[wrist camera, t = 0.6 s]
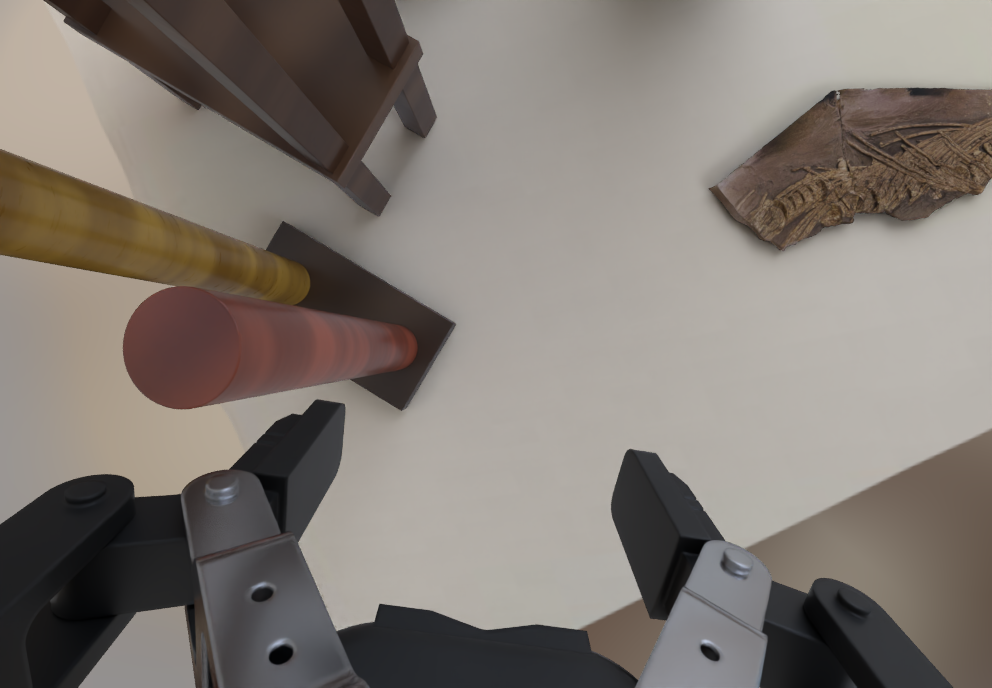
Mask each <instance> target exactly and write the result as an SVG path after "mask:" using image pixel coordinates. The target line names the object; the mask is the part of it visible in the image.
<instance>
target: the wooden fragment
mask: <svg viewBox="0 0 992 688" xmlns="http://www.w3.org/2000/svg"><path fill="white" fill-rule="evenodd" d="M838 92H840V94H839V95H840V99H839V100H837V96H836V95H838V94H836V91H831V92H830V93H829V94H828V95H826V96H825V97H824V98H823V100H821V101H820V102H818V103H817V104H816V105H815V106H813V107H812V108H811V109H810V110H809V111H807V112H806V113H805V114H804V115H802V116H801V117H800V118H799V119H797V120H796V121H795V122H794V123H793V124H792V125H790V126H789V127H788V128H787V129H785V130H784V131H783V132H782V133H780V134H779V135H778V136H777V137H775V138H774V139H773V140H772V141H770V142H769V143H768V144H767V145H765V146H764V147H763V148H762V149H761V150H759V151H758V152H757V153H755V154H754V155H753V157H751V158H749V159H748V160H747V161H746V162H745V163H743V164H742V165H741V166H740V167H738V168H737V169H736V170H734V171H733V172H732V173H731V174H730V175H729V176H728V177H727V178H725V179H724V180H723V181H721V182H720V183H719V184H718V185H716V186H714V187H712V188H709V190H711V191H712V193H713V194H714V195H715V196H716V197H717V198H718V199H719V200H720V201H721V203H722V204H723V205H724V206H725V207H726V208H727V210H728V211H729V213H730V214H731V215H732V217H733V218H734V219H735V220H737V221H738V222H740V223H742V224H746V225H748V226H749V227H750V228H751V229H752V230H753V231H754V232H755V233H756V235H757V236H758V238H759V239H761V240H763V241H769V242H771V243H772V244H773V245H775V246H776V247H777V248H778V249H779V250H782V251H784V250H785V248H786V247H787V246H790V245H795V244H796V243H797V242H799V241H801V240H802V239H804V238H809V237H812V236H814V235H816V234H817V233H819V232H820V231H821V228H824V227H829V226H836V225H839V224H851V223H853V221H854V219H853V217H854V215H855V213H867V214H868V213H882V212H884V211H885V212H886V213H887V214H888V215H891V216H892V217H896V218H898V219H900V220H915V219H920V218H926V217H928V216H929V215H930V214H931V213H932V212H934V211H935V210H936V209H939V208H941V207H942V206H943V205H945V204H946V203H949V202H951V201H952V200H953V199H954V198H959V197H961V196H962V195H964V194H967V193H969V194H972V195H978V194H981V193H982V192H983V190H984V189H985V186H986V185H987V183H988V182H989V180H990V179H991V178H992V90H969V89H967V90H966V89H946V88H889V89H887V88H885V89H883V88H877V89H873V90H872V89H870V90H867V89H866V90H864V88H862V89H843V90H839V91H838Z"/></svg>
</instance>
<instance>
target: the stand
mask: <svg viewBox="0 0 992 688" xmlns="http://www.w3.org/2000/svg"><path fill="white" fill-rule="evenodd" d="M44 1H45V2H47V3H48V4H49V5H51V6H52V7H53V8H55V9H56V10H58V11H59V12H60V13H62V14H63V15H64V16H66V17H65V19H64V22H65V23H66V24H68V25H69V26H71V27H72V28H73V29H75V30H76V31H78V32H79V33H80V34H82V35H84V36H85V37H87V38H89V39H90V40H92V41H94V42H96V43H97V44H99V45H101V46H102V47H104V48H106V49H107V50H109V51H111V52H113V53H114V54H116V55H118V56H119V57H121V58H123V59H124V60H126V61H128V62H129V63H130V64H132V65H133V66H135V67H136V68H137V69H139V70H140V71H141V72H143V73H144V74H146V75H147V76H148V77H150V78H151V79H152V80H154V81H155V82H157V83H158V84H159V85H161V86H162V87H163V88H165V89H166V90H168V91H169V92H170V93H172V94H173V95H174V96H176V97H177V98H179V99H180V100H182V101H184V102H185V103H187V104H189V105H190V106H192V107H194V108H195V109H197V110H198V109H199V108H200V106H201V105H203V106H204V107H206V108H208V109H209V110H211V111H213V112H215V113H216V114H218V115H220V116H221V117H223V118H225V119H226V120H228V121H230V122H232V123H233V124H235V125H237V126H238V127H240V128H242V129H243V130H245V131H247V132H249V133H250V134H252V135H254V136H255V137H257V138H259V139H260V140H262V141H264V142H265V143H267V144H269V145H271V146H272V147H274V148H276V149H277V150H279V151H281V152H282V153H284V154H286V155H288V156H289V157H291V158H293V159H294V160H296V161H298V162H299V163H301V164H303V165H305V166H306V167H308V168H310V169H311V170H313V171H315V172H316V173H318V174H320V175H322V176H323V177H325V178H327V179H328V180H330V181H332V182H333V183H335V184H336V185H337V186H338V187H339V188H340V189H341V190H343V191H344V192H345V193H346V194H347V195H348V196H349V197H351V198H352V199H353V200H354V201H355V202H356V203H357V204H359V205H360V206H362V207H363V208H365V209H367V210H368V211H370V212H372V213H374V214H375V215H377V216H380V214H381V213H382V211H383V209H384V207H385V206H386V204H387V202H388V201H389V199H390V197H391V195H390V194H389V193H388V191H387V190H386V189H385V188H384V187H383V186H382V184H381V183H380V182H379V181H378V180H377V179H376V177H375V176H374V175H373V174H372V173H371V172H370V170H369V169H368V168H367V167H366V166H365V165H364V163H363V162H362V161H361V160H362V158H363V156H364V155H365V153H366V151H367V150H368V148H369V146H370V144H371V143H372V141H373V139H374V137H375V136H376V134H377V132H378V131H379V129H380V127H381V125H382V124H383V122H384V120H385V119H386V117H387V115H388V113H389V112H390V110H391V108H392V107H393V105H394V107H395V109H396V111H397V113H398V115H399V117H400V118H401V120H402V122H403V124H404V126H405V127H406V128H408V129H410V130H412V131H413V132H415V133H417V134H419V135H420V136H422V137H424V138H425V137H426V135H427V134H428V132H429V130H430V128H431V127H432V125H433V123H434V122H435V120H436V118H437V116H436V113H435V110H434V108H433V105H432V102H431V99H430V97H429V94H428V91H427V88H426V86H425V83H424V80H423V77H422V75H421V72H420V69H419V66H418V62H419V60H420V58H421V57H422V55H423V52H422V49H421V46H420V43H419V41H417V40H415V39H414V38H412V37H410V36H408V35H407V34H406V31H405V28H404V25H403V23H402V20H401V17H400V14H399V12H398V9H397V6H396V4H395V1H394V0H44Z"/></svg>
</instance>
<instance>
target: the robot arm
mask: <svg viewBox="0 0 992 688" xmlns="http://www.w3.org/2000/svg"><path fill="white" fill-rule="evenodd" d="M344 422H345V405H344V404H343V403H337V402H331V401H324V400H318V399H317V400H315V401H314V402H313V403H312V404H311V406H310V407H309V408H308V409H307V410H306V411H305V412H304V413H303V415H297V414H291V415H289V416H287V417H284V418H282V419H280V420H278V421H276V422H275V423H274V424H273V425H272V426H271V427H270V428H269V429H268V430H267V431H266V433H265V434H263V435H262V436H261V437H260V438H259V439H258V440H257V443H254V444H253V445H252V446H251V448H250V449H249V450H248V451H247V452H246V453H245V454H244V455H243V456H242V457H241V458H240V459H239V460H238V461H237V462H236V463H235V464H234V465H233V466H232V467H231V468H230V469H229V470H220V471H215V472H211V473H207V474H205V475H202V476H200V477H198V478H196V479H194V480H193V481H191V482H190V483H189V484H188V485H186V487H185V488H184V489H183V491H182V493H181V494H178V495H166V496H151V497H135V496H134V485H133V483H132V482H131V481H130V480H129V479H127V478H125V477H122V476H118V475H108V474H105V475H104V474H103V475H91V476H86V477H81V478H77V479H73V480H71V481H68V482H65V483H62V484H60V485H58V486H56V487H54V488H52V489H50V490H48V491H47V492H45V493H44V494H43V495H41V496H40V497H38V498H37V499H36V500H34V501H33V502H32V503H30V504H28V505H27V506H26V507H24V508H23V509H21V510H20V511H19V512H17V513H16V514H14V515H13V516H12V517H10V518H9V519H7V520H6V521H5V522H3V523H2V524H0V688H78V687H79V685H80V684H81V683H82V682H83V680H84V679H85V678H86V676H87V675H88V674H89V673H90V671H91V670H92V669H93V667H94V666H95V665H96V664H97V662H98V661H99V660H100V659H101V657H102V656H103V655H104V653H105V652H106V651H107V650H108V648H109V647H110V646H111V645H112V643H113V642H114V641H115V639H116V638H117V637H118V636H119V634H120V633H121V632H122V630H123V629H124V628H125V627H126V625H127V624H128V623H129V621H130V620H131V619H132V618H133V616H134V615H135V614H136V612H141V611H148V610H155V609H162V608H170V607H177V606H184V605H185V614H186V621H187V628H188V634H189V642H190V649H191V656H192V663H193V670H194V678H195V685H196V688H759V687H760V688H953V687H952V685H951V684H950V683H949V682H948V681H947V680H946V679H945V678H944V677H943V676H942V674H941V673H940V672H939V671H938V670H937V669H936V668H935V666H934V665H933V664H932V663H931V662H930V661H929V660H928V659H927V658H926V656H925V655H924V654H923V653H922V652H921V651H920V650H919V649H918V647H917V646H916V645H915V644H914V643H913V642H912V641H911V640H910V638H909V637H908V636H907V635H906V634H905V633H904V632H903V631H902V630H901V628H900V627H899V626H898V625H897V624H896V623H895V622H894V621H893V619H892V618H891V617H890V616H889V615H888V614H887V613H886V612H885V611H884V610H883V609H882V608H881V607H880V606H879V605H878V604H877V603H876V602H875V601H873V600H872V599H871V598H869V597H868V596H867V595H865V594H864V593H862V592H861V591H859V590H857V589H855V588H854V587H852V586H849V585H847V584H845V583H843V582H840V581H837V580H833V579H829V578H819V579H817V580H815V581H814V583H813V584H812V586H811V588H810V590H809V593H808V594H807V593H804V592H801V591H798V590H796V589H793V588H790V587H787V586H785V585H782V584H779V583H777V582H774V581H772V577H771V574H770V572H769V570H768V569H767V567H766V566H765V565H764V564H763V563H762V562H761V561H760V560H759V559H758V558H757V557H755V556H754V555H753V554H752V553H750V552H749V551H747V550H745V549H743V548H742V547H740V546H737V545H735V544H732V543H730V542H726V541H725V540H724V538H723V537H722V535H721V534H720V532H719V531H718V529H717V528H716V526H715V525H714V524H713V522H712V521H711V519H710V518H709V516H708V515H707V513H706V512H705V511H703V507H702V506H701V504H700V503H699V502H698V501H697V500H696V497H695V496H694V494H693V493H692V491H691V490H690V488H689V487H688V485H686V484H685V483H684V482H683V481H682V480H680V479H679V478H678V477H677V476H676V475H674V474H673V473H669V472H668V470H667V469H666V467H665V466H664V464H663V463H662V461H661V460H660V458H659V456H658V455H657V454H656V453H652V452H645V451H639V450H633V449H629V450H628V451H627V452H626V453H625V456H624V459H623V462H622V465H621V469H620V472H619V475H618V479H617V482H616V485H615V489H614V492H613V496H612V502H611V512H612V518H613V521H614V523H615V526H616V529H617V531H618V534H619V537H620V539H621V542H622V545H623V547H624V550H625V553H626V555H627V558H628V561H629V563H630V566H631V569H632V571H633V574H634V576H635V579H636V582H637V584H638V587H639V590H640V592H641V595H642V598H643V600H644V603H645V606H646V608H647V611H648V613H649V616H650V618H651V619H659V620H666V623H665V625H664V627H663V629H662V631H661V634H660V636H659V638H658V640H657V642H656V644H655V646H654V649H653V651H652V653H651V655H650V657H649V659H648V661H647V663H646V665H645V668H644V670H643V672H642V674H641V676H640V678H639V680H637V679H636V678H635V677H634V676H633V675H632V674H630V673H629V672H628V671H626V670H625V669H624V668H622V667H621V666H620V665H618V664H616V663H615V662H613V661H612V660H610V659H608V658H606V657H604V656H602V655H600V654H598V653H596V652H593V651H591V648H590V643H589V638H588V634H587V631H582V630H575V629H567V628H559V627H552V626H544V625H529V626H520V627H511V628H503V629H494V630H482V629H479V628H476V627H473V626H471V625H468V624H466V623H463V622H460V621H458V620H455V619H452V618H450V617H447V616H444V615H442V614H439V613H436V612H434V611H430V610H423V609H415V608H407V607H400V606H392V605H385V604H379V607H378V611H377V615H376V618H375V622H371V623H364V624H359V625H355V626H351V627H348V628H345V629H342V630H339V631H337V632H336V629H335V627H334V625H333V623H332V620H331V618H330V616H329V613H328V611H327V609H326V606H325V604H324V602H323V600H322V597H321V595H320V593H319V590H318V588H317V586H316V584H315V581H314V579H313V577H312V574H311V572H310V570H309V568H308V565H307V563H306V561H305V558H304V556H303V554H302V551H301V549H300V547H299V545H298V541H299V540H300V538H301V536H302V534H303V533H304V531H305V529H306V527H307V526H308V524H309V522H310V520H311V519H312V517H313V515H314V513H315V512H316V510H317V508H318V506H319V504H320V503H321V501H322V499H323V497H324V496H325V494H326V492H327V490H328V489H329V487H330V485H331V483H332V482H333V480H334V478H335V476H336V474H337V471H338V469H339V465H340V461H341V456H342V445H343V434H344Z"/></svg>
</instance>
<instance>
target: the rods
mask: <svg viewBox="0 0 992 688" xmlns="http://www.w3.org/2000/svg"><path fill="white" fill-rule="evenodd" d="M0 255H5V256H10V257H16V258H22V259H28V260H33V261H39V262H44V263H50V264H55V265H61V266H66V267H72V268H78V269H83V270H89V271H95V272H101V273H106V274H111V275H117V276H123V277H129V278H134V279H140V280H145V281H151V282H156V283H162V284H167V285H173V286H176V287H171V288H167V289H164V290H161V291H159V292H157V293H155V294H153V295H151V296H150V297H149V298H147V299H146V300H145V301H144V302H142V303H141V304H140V305H139V307H138V308H137V309H136V310H135V312H134V313H133V315H132V316H131V318H130V320H129V322H128V325H127V327H126V330H125V334H124V340H123V356H124V362H125V366H126V369H127V372H128V374H129V376H130V378H131V379H132V381H133V383H134V384H135V386H136V387H137V388H138V389H139V390H140V392H142V393H143V394H144V395H145V396H146V397H147V398H149V399H150V400H152V401H154V402H155V403H157V404H160V405H162V406H165V407H168V408H173V409H192V408H197V407H202V406H208V405H214V404H219V403H224V402H230V401H235V400H241V399H246V398H251V397H257V396H262V395H268V394H273V393H278V392H284V391H289V390H295V389H300V388H305V387H311V386H316V385H322V384H327V383H332V382H338V381H343V380H349V379H350V380H352V381H354V382H355V383H357V384H359V385H360V386H362V387H363V388H365V389H367V390H368V391H370V392H372V393H373V394H375V395H377V396H378V397H380V398H381V399H383V400H385V401H386V402H388V403H390V404H391V405H393V406H394V407H396V408H398V409H399V410H401V411H402V410H404V409H406V408H407V407H408V405H409V403H410V401H411V400H412V398H413V396H414V395H415V393H416V391H417V390H418V388H419V386H420V385H421V383H422V381H423V380H424V378H425V376H426V374H427V373H428V371H429V369H430V368H431V366H432V364H433V363H434V361H435V359H436V358H437V356H438V354H439V353H440V351H441V349H442V347H443V346H444V344H445V342H446V341H447V339H448V337H449V336H450V334H451V332H452V331H453V329H454V327H455V326H456V324H455V323H454V322H452V321H450V320H449V319H447V318H445V317H444V316H442V315H440V314H439V313H437V312H435V311H434V310H432V309H430V308H429V307H427V306H425V305H423V304H422V303H420V302H418V301H417V300H415V299H413V298H412V297H410V296H408V295H407V294H405V293H403V292H402V291H400V290H398V289H397V288H395V287H393V286H392V285H390V284H388V283H387V282H385V281H383V280H382V279H380V278H378V277H377V276H375V275H373V274H372V273H370V272H368V271H367V270H365V269H363V268H362V267H360V266H358V265H357V264H355V263H353V262H352V261H350V260H348V259H347V258H345V257H343V256H342V255H340V254H338V253H337V252H335V251H333V250H331V249H330V248H328V247H326V246H325V245H323V244H321V243H320V242H318V241H316V240H315V239H313V238H311V237H310V236H308V235H306V234H305V233H303V232H301V231H300V230H298V229H296V228H295V227H293V226H291V225H289V224H287V223H286V222H284V221H283V222H282V223H281V225H280V227H279V228H278V230H277V232H276V233H275V235H274V237H273V239H272V240H271V242H270V244H269V246H268V247H267V249H266V250H264V249H261V248H259V247H256V246H254V245H251V244H248V243H246V242H243V241H240V240H238V239H235V238H233V237H230V236H227V235H225V234H222V233H219V232H217V231H214V230H212V229H209V228H206V227H204V226H201V225H198V224H196V223H193V222H191V221H188V220H185V219H183V218H180V217H177V216H175V215H172V214H170V213H167V212H164V211H162V210H159V209H156V208H154V207H151V206H149V205H146V204H143V203H141V202H138V201H135V200H133V199H130V198H127V197H125V196H122V195H120V194H117V193H114V192H112V191H109V190H107V189H104V188H101V187H99V186H96V185H93V184H91V183H88V182H86V181H83V180H80V179H78V178H75V177H72V176H69V175H67V174H65V173H62V172H59V171H57V170H54V169H51V168H49V167H46V166H43V165H41V164H38V163H36V162H33V161H30V160H28V159H25V158H23V157H20V156H17V155H14V154H12V153H9V152H7V151H4V150H2V149H0Z"/></svg>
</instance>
